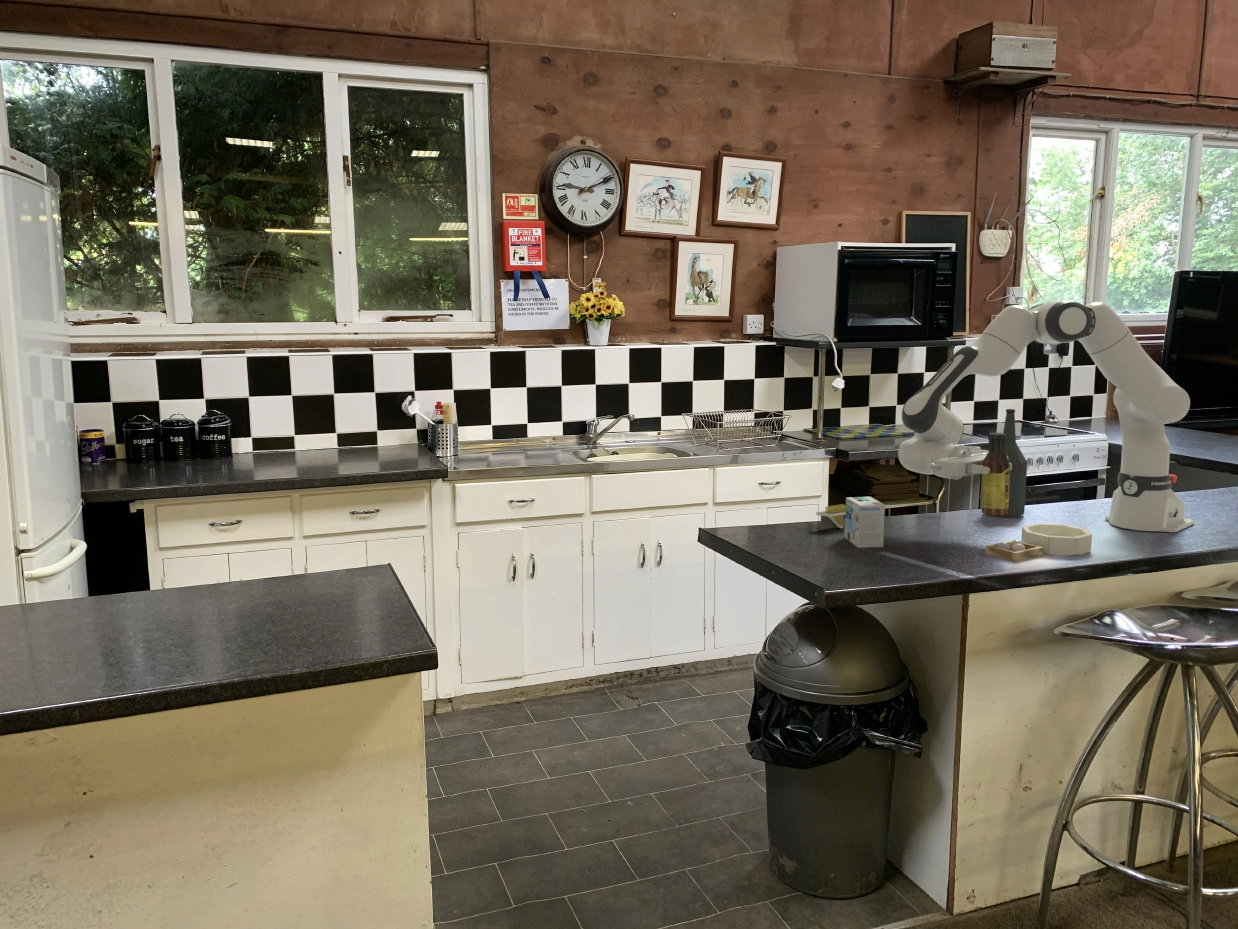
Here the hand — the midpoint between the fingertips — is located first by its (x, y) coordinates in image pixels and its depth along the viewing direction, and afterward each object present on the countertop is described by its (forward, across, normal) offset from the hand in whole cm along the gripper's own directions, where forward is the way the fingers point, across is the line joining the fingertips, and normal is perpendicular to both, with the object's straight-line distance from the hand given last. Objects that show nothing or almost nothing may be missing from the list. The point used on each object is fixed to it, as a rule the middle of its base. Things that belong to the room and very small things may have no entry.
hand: (999, 468), depth 225 cm
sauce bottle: (-1, 0, +12) cm, 12 cm away
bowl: (+10, +9, +20) cm, 24 cm away
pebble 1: (+8, -8, +18) cm, 22 cm away
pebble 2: (+8, -3, +19) cm, 20 cm away
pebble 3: (+10, -6, +19) cm, 22 cm away
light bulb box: (-21, -23, +19) cm, 37 cm away
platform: (-36, -19, +20) cm, 45 cm away
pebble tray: (+9, -5, +19) cm, 22 cm away
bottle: (-23, +34, +20) cm, 45 cm away
